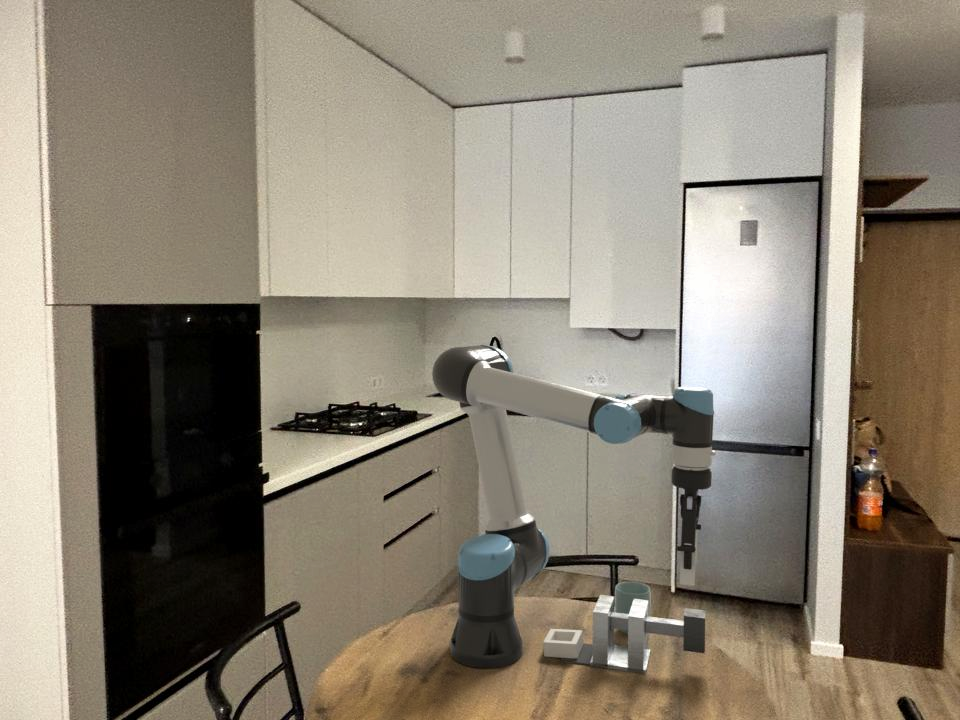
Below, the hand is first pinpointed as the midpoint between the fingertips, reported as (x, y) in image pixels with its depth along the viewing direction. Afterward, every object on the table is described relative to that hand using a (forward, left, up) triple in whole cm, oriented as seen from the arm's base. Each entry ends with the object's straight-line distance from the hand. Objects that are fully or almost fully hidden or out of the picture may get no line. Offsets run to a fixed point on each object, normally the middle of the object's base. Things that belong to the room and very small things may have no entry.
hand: (688, 572), depth 144 cm
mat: (-21, -6, -20) cm, 29 cm away
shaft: (-7, -2, -15) cm, 17 cm away
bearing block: (-13, -3, -20) cm, 23 cm away
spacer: (-24, -6, -18) cm, 31 cm away
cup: (-16, +11, -20) cm, 27 cm away
